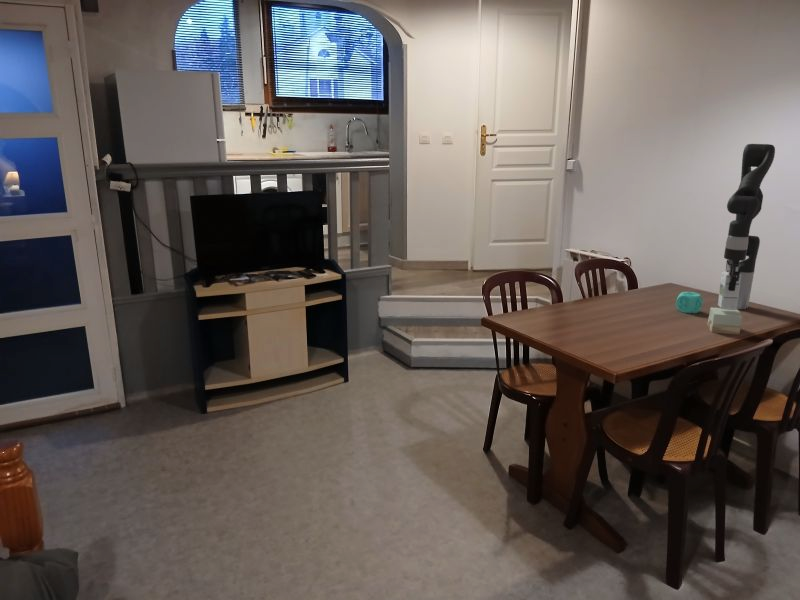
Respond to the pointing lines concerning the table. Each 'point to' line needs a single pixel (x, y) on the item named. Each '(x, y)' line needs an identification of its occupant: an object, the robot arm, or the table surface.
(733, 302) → the syrup box
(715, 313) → the tower top
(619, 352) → the table surface
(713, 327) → the tower bottom
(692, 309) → the decorative dice
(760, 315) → the table surface
